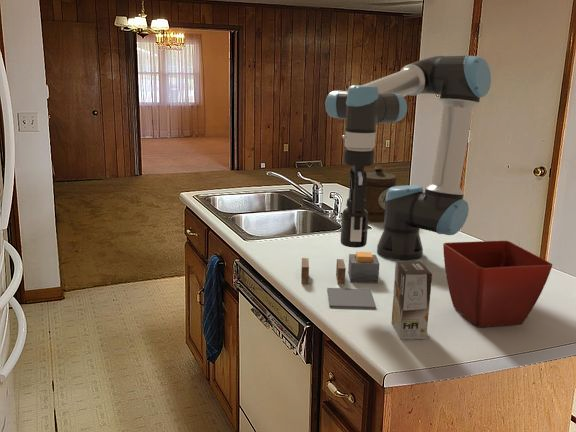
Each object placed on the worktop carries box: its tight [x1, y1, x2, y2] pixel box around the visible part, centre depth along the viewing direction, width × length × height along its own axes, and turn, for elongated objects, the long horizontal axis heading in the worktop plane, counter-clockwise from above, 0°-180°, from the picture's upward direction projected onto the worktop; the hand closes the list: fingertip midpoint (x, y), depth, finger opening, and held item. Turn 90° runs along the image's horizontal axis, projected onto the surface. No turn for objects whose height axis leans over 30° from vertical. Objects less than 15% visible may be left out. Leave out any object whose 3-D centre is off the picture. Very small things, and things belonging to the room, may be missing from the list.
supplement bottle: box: [340, 197, 369, 249], centre depth 144 cm, size 7×7×12 cm
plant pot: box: [442, 240, 553, 328], centre depth 139 cm, size 19×19×17 cm
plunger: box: [355, 251, 373, 262], centre depth 164 cm, size 4×4×6 cm
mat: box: [326, 287, 377, 310], centre depth 150 cm, size 12×12×1 cm
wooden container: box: [364, 165, 397, 223], centre depth 231 cm, size 15×15×22 cm
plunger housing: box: [347, 253, 380, 284], centre depth 164 cm, size 8×8×6 cm
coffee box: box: [391, 260, 433, 340], centre depth 130 cm, size 9×6×16 cm
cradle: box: [300, 257, 347, 286], centre depth 163 cm, size 12×8×5 cm, turn 89°
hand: (354, 236), depth 145 cm, fingers closed on supplement bottle, 7 cm apart
